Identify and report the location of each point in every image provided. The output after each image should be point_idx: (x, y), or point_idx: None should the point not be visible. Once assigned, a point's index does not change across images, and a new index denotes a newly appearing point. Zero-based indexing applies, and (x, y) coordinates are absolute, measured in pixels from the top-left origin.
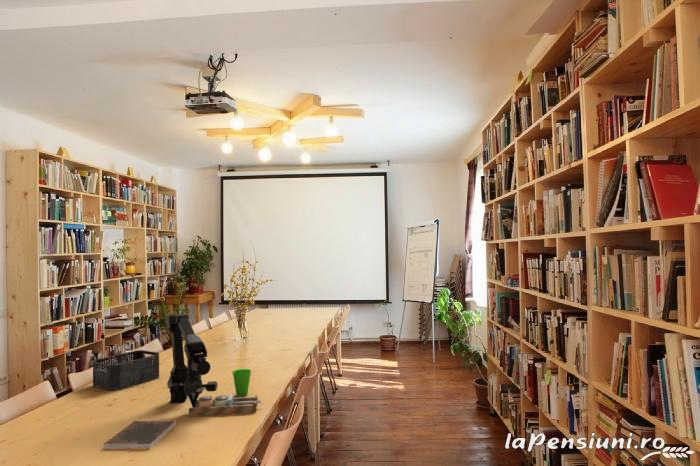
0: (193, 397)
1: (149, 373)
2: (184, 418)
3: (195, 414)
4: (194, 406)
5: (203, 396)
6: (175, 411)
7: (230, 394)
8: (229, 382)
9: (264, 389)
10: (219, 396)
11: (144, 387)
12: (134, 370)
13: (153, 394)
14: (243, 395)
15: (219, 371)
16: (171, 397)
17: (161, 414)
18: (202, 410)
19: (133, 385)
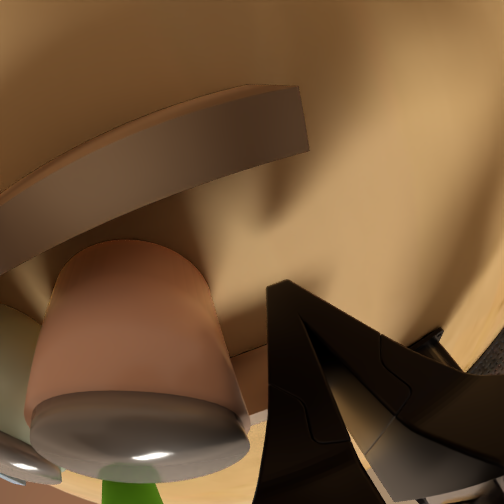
0: (351, 412)
1: None
2: (274, 6)
3: (147, 118)
4: (267, 296)
5: (215, 469)
6: (421, 225)
7: (18, 482)
8: (253, 484)
9: (92, 488)
10: (33, 474)
11: (465, 367)
12: None
13: (462, 352)
14: None
15: None
16: (445, 354)
17: (481, 153)
18: (24, 183)
19: (477, 360)
